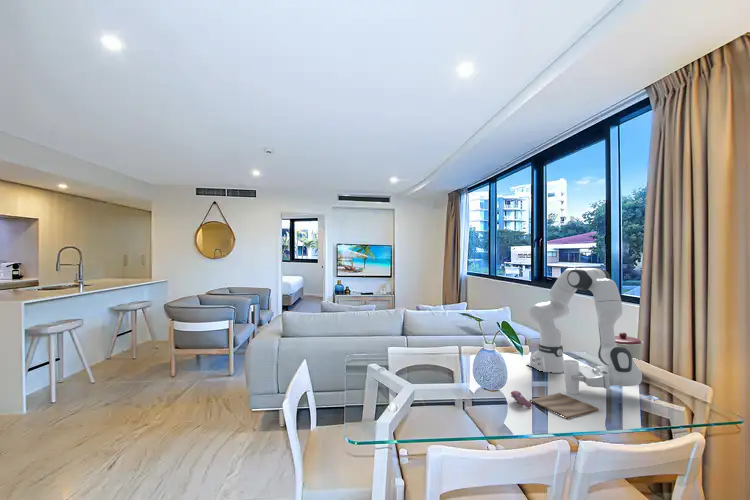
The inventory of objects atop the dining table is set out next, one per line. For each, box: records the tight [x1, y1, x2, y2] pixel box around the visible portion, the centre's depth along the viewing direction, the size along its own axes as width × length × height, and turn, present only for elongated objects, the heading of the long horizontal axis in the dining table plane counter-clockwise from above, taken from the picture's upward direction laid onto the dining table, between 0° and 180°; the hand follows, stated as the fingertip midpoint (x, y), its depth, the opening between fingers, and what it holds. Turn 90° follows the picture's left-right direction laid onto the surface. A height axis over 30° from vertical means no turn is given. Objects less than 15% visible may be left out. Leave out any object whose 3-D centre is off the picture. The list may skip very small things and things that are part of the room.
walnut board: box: [529, 392, 600, 419], centre depth 160 cm, size 20×18×1 cm
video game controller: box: [510, 390, 533, 408], centre depth 164 cm, size 10×5×7 cm, turn 6°
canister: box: [614, 332, 644, 361], centre depth 203 cm, size 18×18×21 cm
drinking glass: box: [563, 359, 580, 396], centre depth 174 cm, size 7×7×15 cm
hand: (569, 375), depth 174 cm, fingers closed on drinking glass, 6 cm apart
